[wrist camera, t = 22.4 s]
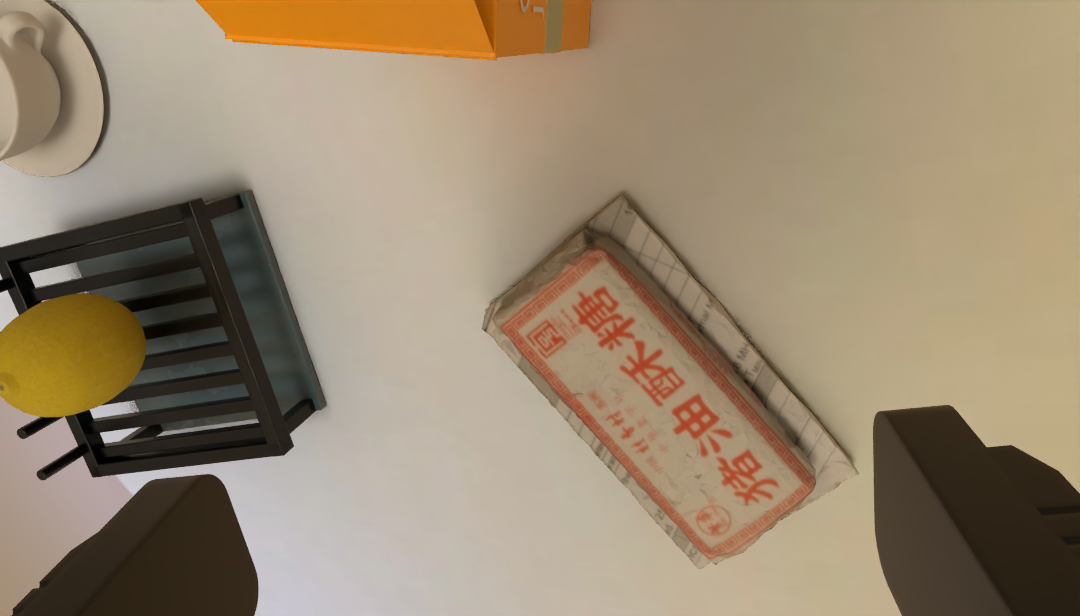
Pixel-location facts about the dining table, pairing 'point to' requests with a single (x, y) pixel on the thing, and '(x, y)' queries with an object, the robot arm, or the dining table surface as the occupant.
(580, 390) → the packaged product
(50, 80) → the teacup
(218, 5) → the orange juice
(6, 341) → the lemon
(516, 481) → the dining table surface
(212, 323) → the dish rack
